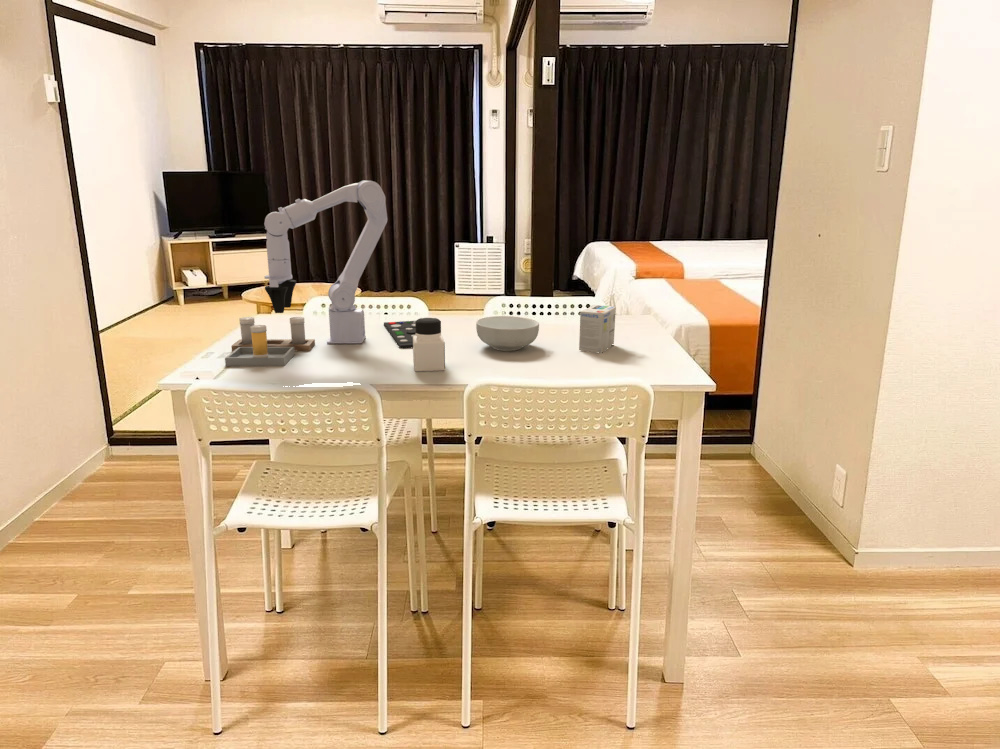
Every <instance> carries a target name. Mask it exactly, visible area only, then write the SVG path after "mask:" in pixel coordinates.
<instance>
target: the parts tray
mask: <svg viewBox="0 0 1000 749" xmlns="http://www.w3.org/2000/svg"><path fill="white" fill-rule="evenodd" d="M268 355H269V357H253V347H238V348H237V349H236V350H234V351H231V352H230V353H229V354H227V356H225V357H224V364H225V367H257V366H258V367H262V366H263V367H268V366H269V367H271V366H272V367H280V366H281V367H284V366H286V365H287V364H288V363H289V362H290V360H291V359H292V358H294V356H295V355H296V351H295V349H294V347H268Z"/></svg>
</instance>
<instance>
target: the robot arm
mask: <svg viewBox="0 0 1000 749" xmlns="http://www.w3.org/2000/svg"><path fill="white" fill-rule="evenodd" d="M386 199H387V198H386V195H385V193H384V191H383V189H382V187H381V186H380V184H379V183H378V182H376V181H373V180H367V179H366V180H364V179H363V180H361V181H359V182H355V183H350V184H348V185H344V186H342V187H340V188H338V189H335V190H333V191H331V192H329V193H326V194H325V195H323V196H321V197H319V198H316V199H314V200H312V201H311V200H309V199H306V198H303V199H300V198H297V199H295V200H294V201H295V202H294V203H292V204H289V205H287V206H284V207H282V206H280V207H278V208H277V209H278V211H272V212H270V213H268V214H267V215H266V216H265V218H264V223H263V224H264V228H265V230H266V234H265V238H266V253H267V255H266V256H267V268H268V275H264V279H266V280H269V285H265V286H264V290H265V293H267V295H268V297H269V298H270V301H271V304H272V308H273V310H274V313H275V314H283V313H285V312H284V311H285V308H289V309H291V306H292V300H293V295H294V294H293V293H294V289H295V286H296V284H297V280H295V279H293V274H292V262H291V250H290V241H289V239H288V238H289V236H288V231H289V229H292V230H293V229H296V228H298V227H300V226H303V225H305V224H307V223H310V222H312V221H314V220H315V219H316V217H317V214H318V213H319V212H322V211H325V210H327V209H329V208H333V207H334V206H335V207H336V206H337V205H340V204H343V203H345V202H350V203H358V202H359V204H360V205H361V206H362V207H363V210H364V212H365V216H366V218H367V221H366V222H365V225H364V227H363V228H362V231H361V233H360V235H359V237H358V239H357V241H356V244H355V246H354V248H353V250H352V252H351V254H350V255H349V256H350V257H348V258H349V259H348V260H347V262H346V264H345V267H344V268H343V271H342V272H341V273H340V275H339V276H338V278H337V280H336V281H335V282H334V283H333V284H332V285H331V286H330V287H329V289H328V293H327V294H328V299H329V300H330V301H331V305H330V306H328V320H329V322H328V324H329V336H330V337H329V338H328V340H326V344H363V342H364V340H365V339H366V326H365V325H366V322H365V313H364V309H361V308H356V307H357V306H356V305H354V304H355V302H356V292H357V290H358V287H359V282H360V279H361V278H362V275H363V273H364V270H365V269H366V267H367V265H368V263H369V261H370V259H371V257H372V255H373V252H374V250H375V249H376V246H377V244H378V242H379V240H380V238H381V236H382V234H383V231H384V230H385V227H386V225H387V223H388V213H387V204H386Z"/></svg>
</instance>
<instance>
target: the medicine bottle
mask: <svg viewBox="0 0 1000 749" xmlns="http://www.w3.org/2000/svg"><path fill="white" fill-rule="evenodd" d="M415 321H416V322H415V328H416V336H413V348H412V353H413V356H412V357H413V360H412V361H413V363H412V364H413V368H414V371H415V372H418V373H419V372H435V371H437V372H439V371H442V372H443V371H445V370H446V355H445V354H446V349H445V348H446V347H445V346H446V345H445V344H446V343H445V341H444V338H443V336H442V321H441V320H440V319H439V318H437V317H433V316H432V317H429V316H427V317H420V318H417V319H416V320H415Z"/></svg>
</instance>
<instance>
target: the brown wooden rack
mask: <svg viewBox="0 0 1000 749" xmlns="http://www.w3.org/2000/svg"><path fill="white" fill-rule="evenodd" d="M305 342H306V344H292V338H291V339H288V338H287V339H286V338H285V339H284V338H283V339H282V338H281V339H278V338H277V339H276V338H275V339H272V338H270V339H269V338H267V347H294V349H295V352H310V351H311V350H312V349H313V348H314V346H315V345H316V340H315V338H311V339H309V338H305ZM238 347H253V346H252V344H242V338H241V339H238V340H237V341H235V342H234V343H233V344H231V352H233V351H234V350H236V349H237V348H238Z"/></svg>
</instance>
